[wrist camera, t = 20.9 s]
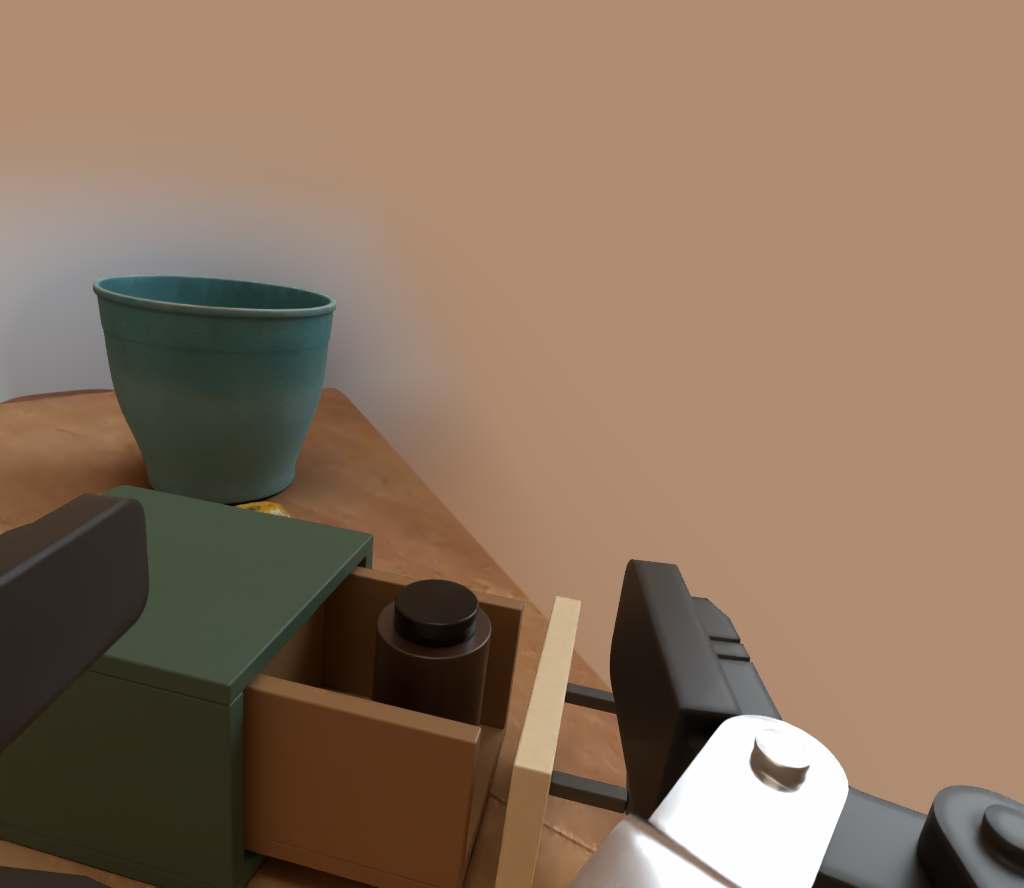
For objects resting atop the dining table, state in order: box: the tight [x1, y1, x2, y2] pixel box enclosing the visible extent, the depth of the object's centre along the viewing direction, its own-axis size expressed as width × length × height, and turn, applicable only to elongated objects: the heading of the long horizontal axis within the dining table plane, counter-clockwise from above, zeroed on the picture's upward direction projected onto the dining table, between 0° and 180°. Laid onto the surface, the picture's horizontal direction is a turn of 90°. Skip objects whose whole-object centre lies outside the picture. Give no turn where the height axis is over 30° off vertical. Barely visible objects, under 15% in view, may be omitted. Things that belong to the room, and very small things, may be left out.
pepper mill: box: [372, 579, 492, 727], centre depth 26 cm, size 4×4×8 cm
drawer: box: [242, 566, 634, 888], centre depth 26 cm, size 17×10×8 cm, turn 79°
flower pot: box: [93, 275, 336, 504], centre depth 56 cm, size 18×18×17 cm
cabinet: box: [0, 484, 373, 888], centre depth 28 cm, size 14×12×10 cm
